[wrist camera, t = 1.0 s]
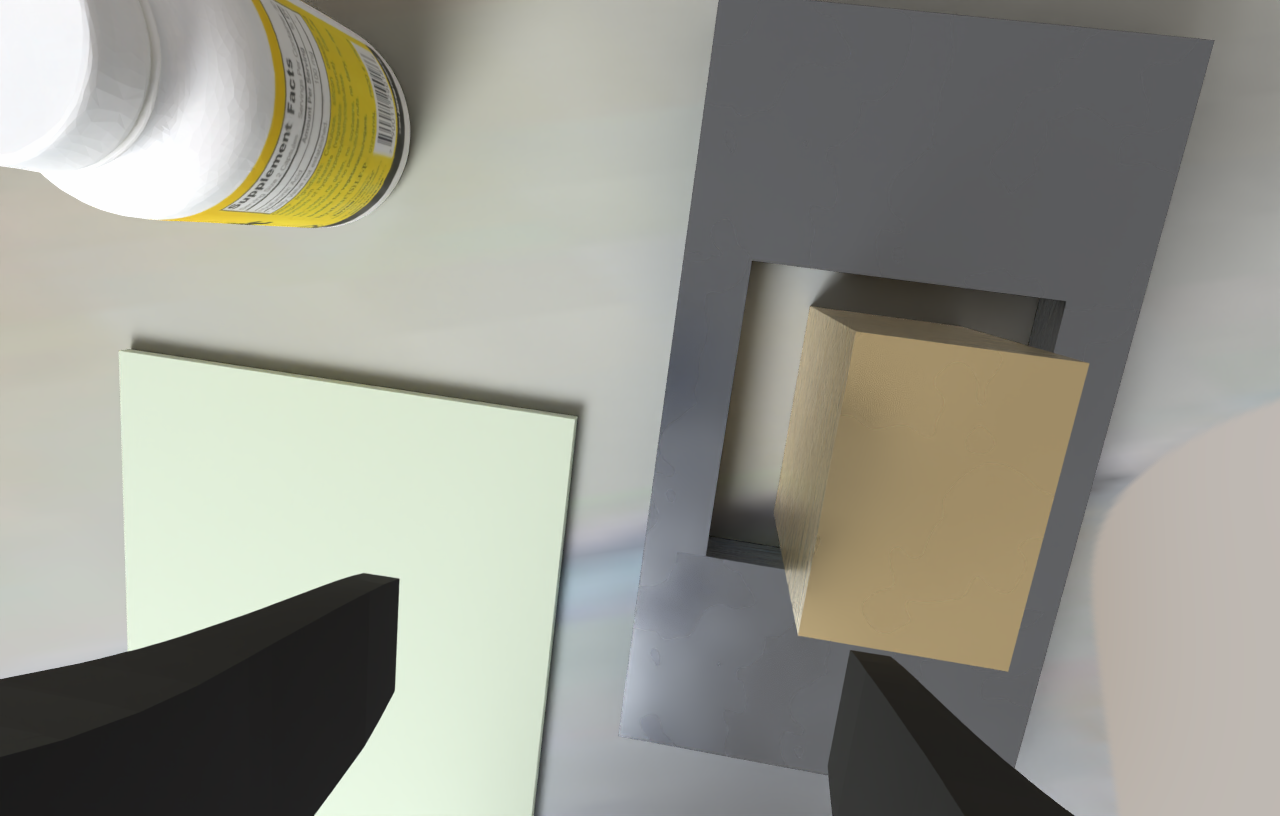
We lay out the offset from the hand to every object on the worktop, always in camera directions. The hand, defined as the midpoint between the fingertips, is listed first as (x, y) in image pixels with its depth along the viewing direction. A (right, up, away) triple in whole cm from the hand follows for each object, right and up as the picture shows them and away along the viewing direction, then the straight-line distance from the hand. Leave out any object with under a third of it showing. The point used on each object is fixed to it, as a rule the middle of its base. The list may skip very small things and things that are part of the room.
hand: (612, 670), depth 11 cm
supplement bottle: (-8, +12, +9) cm, 17 cm away
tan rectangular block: (+7, +4, +9) cm, 12 cm away
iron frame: (+7, +4, +9) cm, 12 cm away
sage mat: (-9, -3, +12) cm, 15 cm away
